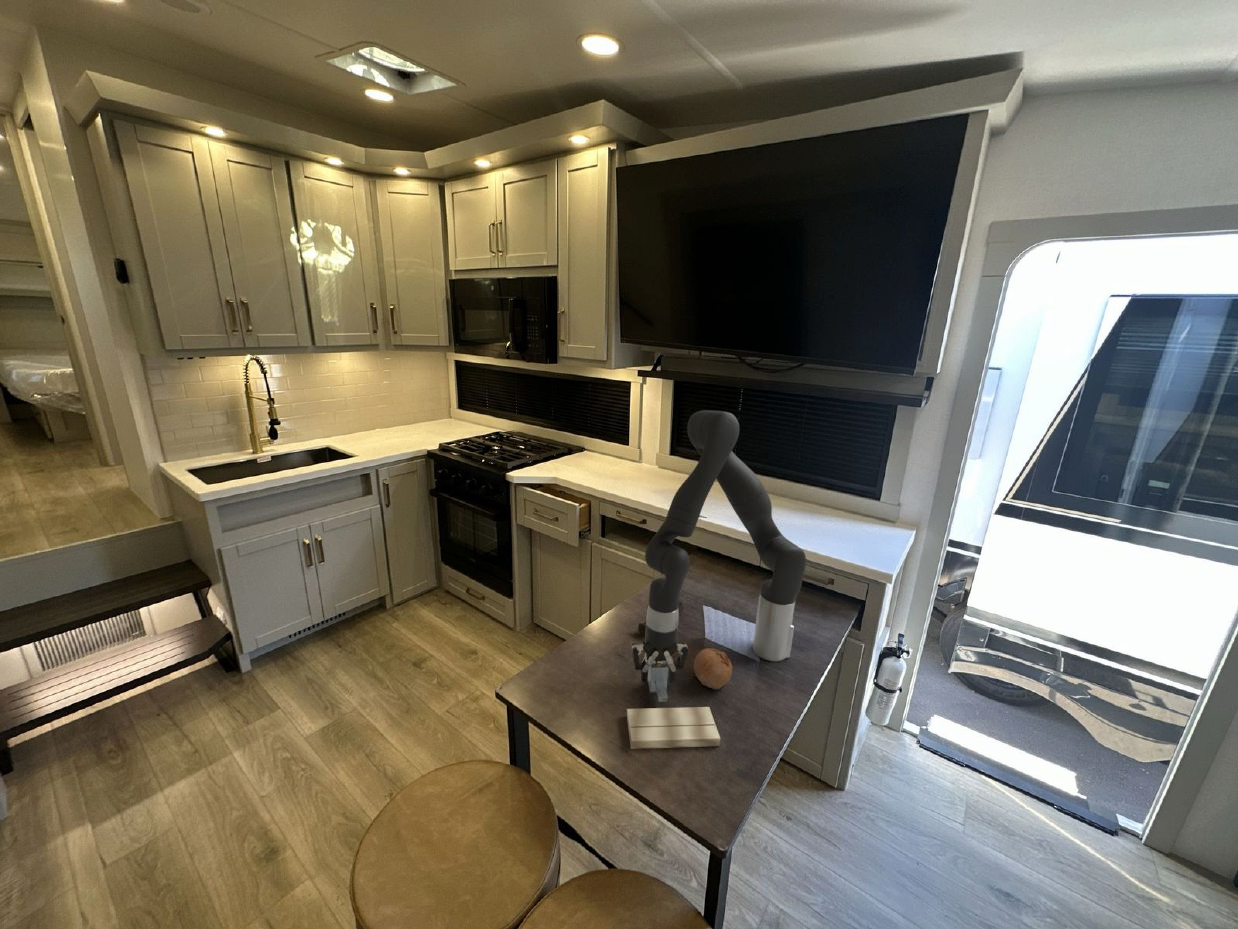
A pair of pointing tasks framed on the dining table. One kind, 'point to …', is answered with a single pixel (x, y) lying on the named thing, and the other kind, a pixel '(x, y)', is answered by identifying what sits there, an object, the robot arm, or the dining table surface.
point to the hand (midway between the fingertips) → (657, 681)
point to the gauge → (658, 679)
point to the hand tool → (643, 625)
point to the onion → (713, 668)
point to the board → (672, 727)
